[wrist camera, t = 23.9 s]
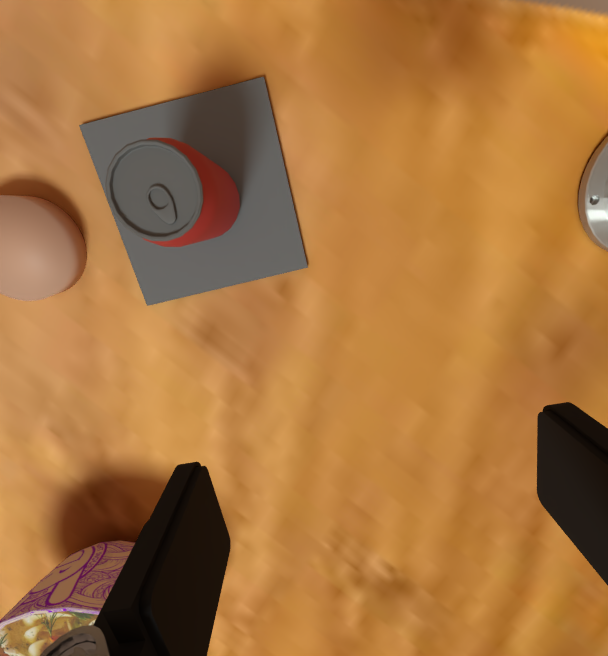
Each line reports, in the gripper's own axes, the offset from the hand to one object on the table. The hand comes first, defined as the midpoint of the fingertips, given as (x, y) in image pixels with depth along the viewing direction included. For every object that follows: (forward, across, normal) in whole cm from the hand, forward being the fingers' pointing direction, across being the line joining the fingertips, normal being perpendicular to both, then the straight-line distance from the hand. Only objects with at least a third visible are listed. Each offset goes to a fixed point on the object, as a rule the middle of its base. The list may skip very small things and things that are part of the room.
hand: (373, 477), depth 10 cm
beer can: (+26, +9, -10) cm, 29 cm away
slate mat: (+26, +10, -10) cm, 30 cm away
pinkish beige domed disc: (+26, +26, -9) cm, 38 cm away
